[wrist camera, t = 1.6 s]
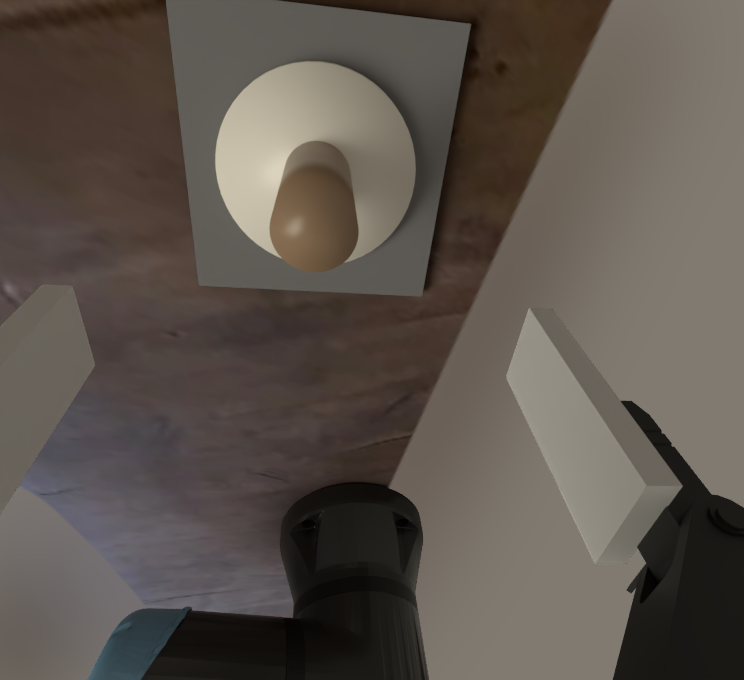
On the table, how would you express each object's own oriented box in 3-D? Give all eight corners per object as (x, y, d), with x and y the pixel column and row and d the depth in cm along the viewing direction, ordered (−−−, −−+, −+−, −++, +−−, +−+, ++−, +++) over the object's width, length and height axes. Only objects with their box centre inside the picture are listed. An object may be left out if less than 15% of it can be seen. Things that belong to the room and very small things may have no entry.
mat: (420, 291, 36) (422, 296, 36) (201, 280, 34) (198, 285, 34) (467, 23, 27) (471, 23, 26) (168, -13, 25) (164, -14, 24)
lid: (400, 264, 34) (423, 345, 26) (225, 254, 33) (191, 337, 24) (427, 71, 27) (470, 98, 19) (209, 48, 26) (154, 67, 18)
